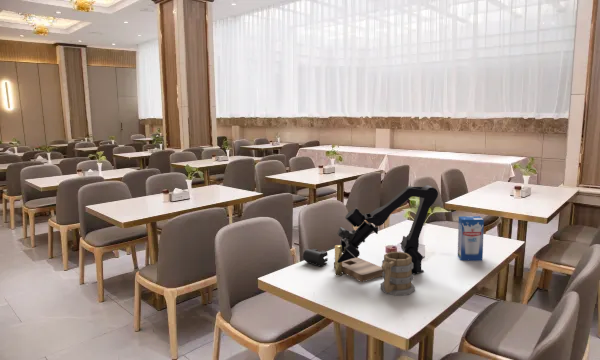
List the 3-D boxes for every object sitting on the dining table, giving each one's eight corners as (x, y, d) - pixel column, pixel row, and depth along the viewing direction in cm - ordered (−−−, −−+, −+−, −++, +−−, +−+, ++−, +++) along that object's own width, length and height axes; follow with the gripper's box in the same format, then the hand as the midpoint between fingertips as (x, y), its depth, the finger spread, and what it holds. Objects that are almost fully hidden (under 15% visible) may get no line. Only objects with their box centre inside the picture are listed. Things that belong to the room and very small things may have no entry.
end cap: (303, 263, 206) (302, 250, 205) (312, 260, 211) (312, 246, 210) (318, 268, 199) (318, 254, 198) (328, 264, 204) (328, 250, 203)
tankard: (390, 280, 183) (390, 246, 180) (418, 287, 175) (419, 252, 172) (366, 296, 167) (366, 259, 165) (396, 304, 159) (396, 266, 157)
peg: (343, 274, 191) (343, 246, 189) (338, 276, 189) (337, 247, 187) (339, 272, 194) (339, 244, 192) (333, 273, 192) (333, 245, 190)
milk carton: (478, 256, 209) (479, 216, 206) (482, 260, 203) (484, 219, 200) (457, 256, 210) (458, 216, 207) (460, 260, 204) (462, 219, 201)
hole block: (384, 275, 189) (384, 268, 188) (362, 281, 182) (362, 275, 181) (355, 262, 205) (355, 256, 205) (334, 268, 199) (333, 262, 198)
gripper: (345, 216, 197) (321, 240, 199) (351, 227, 179) (325, 253, 180) (362, 232, 199) (339, 256, 200) (370, 244, 180) (344, 270, 182)
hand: (336, 258), depth 190 cm, fingers open, 9 cm apart
